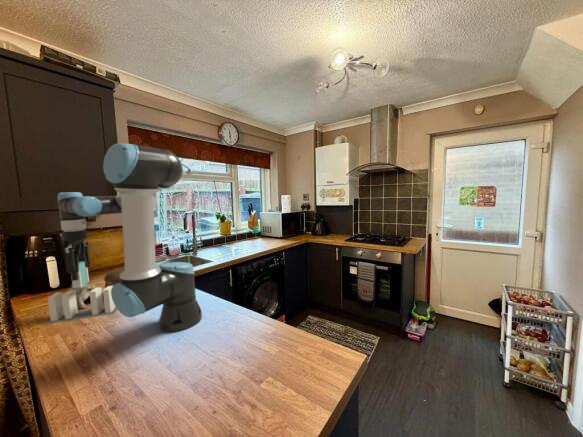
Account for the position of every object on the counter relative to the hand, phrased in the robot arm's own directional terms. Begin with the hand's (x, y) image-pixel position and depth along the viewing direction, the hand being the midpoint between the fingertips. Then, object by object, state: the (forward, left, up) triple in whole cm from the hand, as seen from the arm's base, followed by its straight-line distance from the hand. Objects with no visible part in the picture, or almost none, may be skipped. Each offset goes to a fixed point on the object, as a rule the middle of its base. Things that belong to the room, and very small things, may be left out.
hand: (81, 284), depth 99 cm
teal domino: (0, 0, -1) cm, 1 cm away
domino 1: (+6, +7, -13) cm, 16 cm away
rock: (+19, -6, -14) cm, 24 cm away
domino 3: (-3, -4, -13) cm, 14 cm away
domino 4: (-6, -7, -13) cm, 16 cm away
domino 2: (+3, +3, -13) cm, 14 cm away
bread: (+5, -22, -14) cm, 26 cm away
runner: (0, 0, -13) cm, 13 cm away
